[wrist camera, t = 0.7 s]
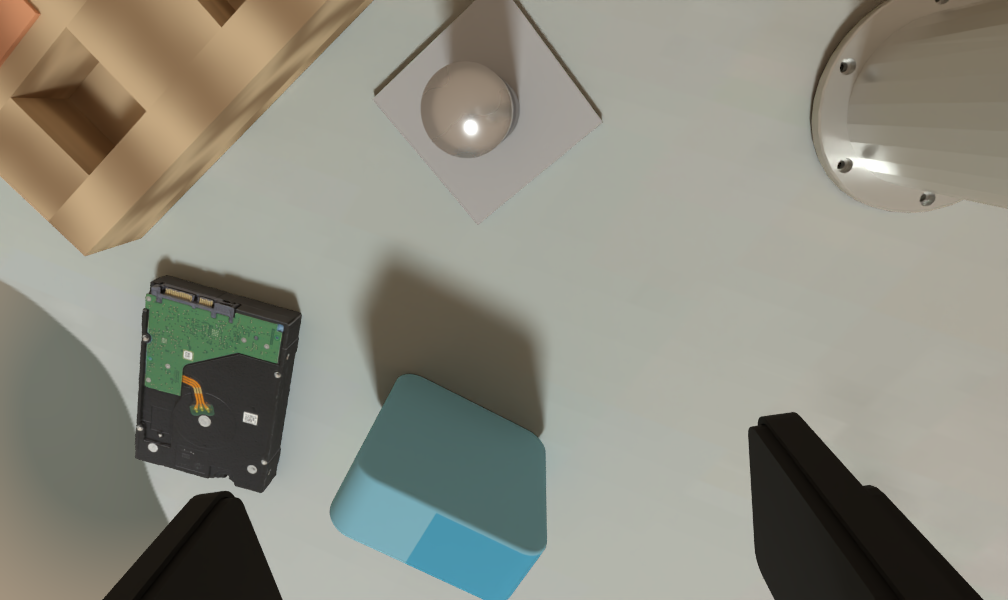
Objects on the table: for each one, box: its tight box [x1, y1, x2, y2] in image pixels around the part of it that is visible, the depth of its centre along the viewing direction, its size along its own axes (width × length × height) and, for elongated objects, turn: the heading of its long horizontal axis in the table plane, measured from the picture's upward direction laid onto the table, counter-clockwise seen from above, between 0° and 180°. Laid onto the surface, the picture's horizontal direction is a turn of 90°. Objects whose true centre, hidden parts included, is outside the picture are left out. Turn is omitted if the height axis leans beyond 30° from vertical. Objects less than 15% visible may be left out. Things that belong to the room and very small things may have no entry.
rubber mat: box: [372, 0, 603, 225], centre depth 34 cm, size 10×10×1 cm
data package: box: [330, 374, 547, 600], centre depth 36 cm, size 12×4×12 cm, turn 62°
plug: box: [421, 61, 520, 158], centre depth 29 cm, size 4×4×10 cm
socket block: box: [0, 0, 373, 256], centre depth 31 cm, size 26×14×5 cm, turn 130°
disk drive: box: [135, 275, 302, 493], centre depth 41 cm, size 10×3×15 cm
